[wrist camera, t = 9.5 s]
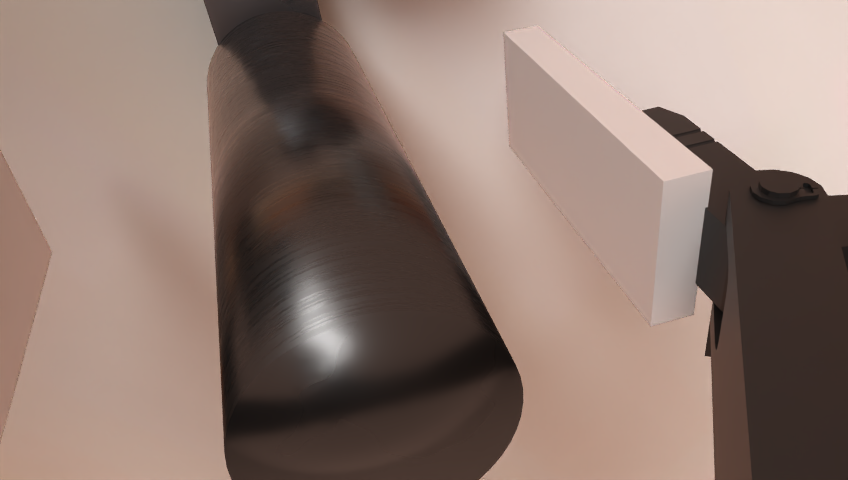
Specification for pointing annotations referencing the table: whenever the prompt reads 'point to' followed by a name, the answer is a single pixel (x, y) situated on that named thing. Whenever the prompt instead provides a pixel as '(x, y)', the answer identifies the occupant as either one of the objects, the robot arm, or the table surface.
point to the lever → (337, 274)
